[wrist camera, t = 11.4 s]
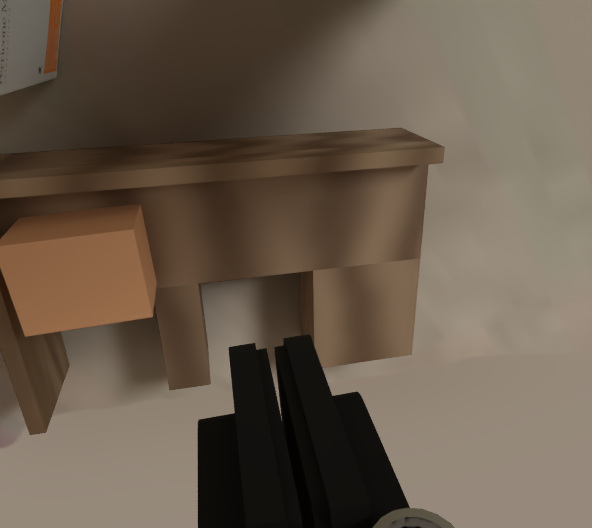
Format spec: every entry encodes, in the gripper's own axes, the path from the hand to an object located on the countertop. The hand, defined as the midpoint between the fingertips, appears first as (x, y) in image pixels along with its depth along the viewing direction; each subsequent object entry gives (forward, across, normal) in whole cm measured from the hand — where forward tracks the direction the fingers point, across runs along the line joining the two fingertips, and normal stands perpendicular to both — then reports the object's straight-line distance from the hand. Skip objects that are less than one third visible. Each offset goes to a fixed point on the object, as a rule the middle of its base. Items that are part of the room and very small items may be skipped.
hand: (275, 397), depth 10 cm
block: (+22, +9, +6) cm, 24 cm away
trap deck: (+27, +1, +9) cm, 29 cm away
